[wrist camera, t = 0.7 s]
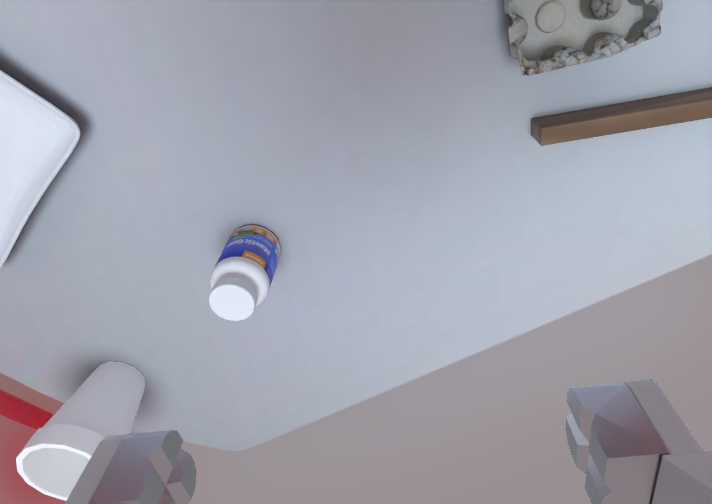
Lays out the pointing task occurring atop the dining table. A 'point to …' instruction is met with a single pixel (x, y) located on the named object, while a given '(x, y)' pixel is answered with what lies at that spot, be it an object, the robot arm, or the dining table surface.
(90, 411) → the foam cup
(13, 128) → the salad plate
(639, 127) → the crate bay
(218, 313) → the pill bottle
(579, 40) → the egg carton
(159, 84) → the dining table surface
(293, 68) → the dining table surface
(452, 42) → the dining table surface
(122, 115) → the dining table surface
